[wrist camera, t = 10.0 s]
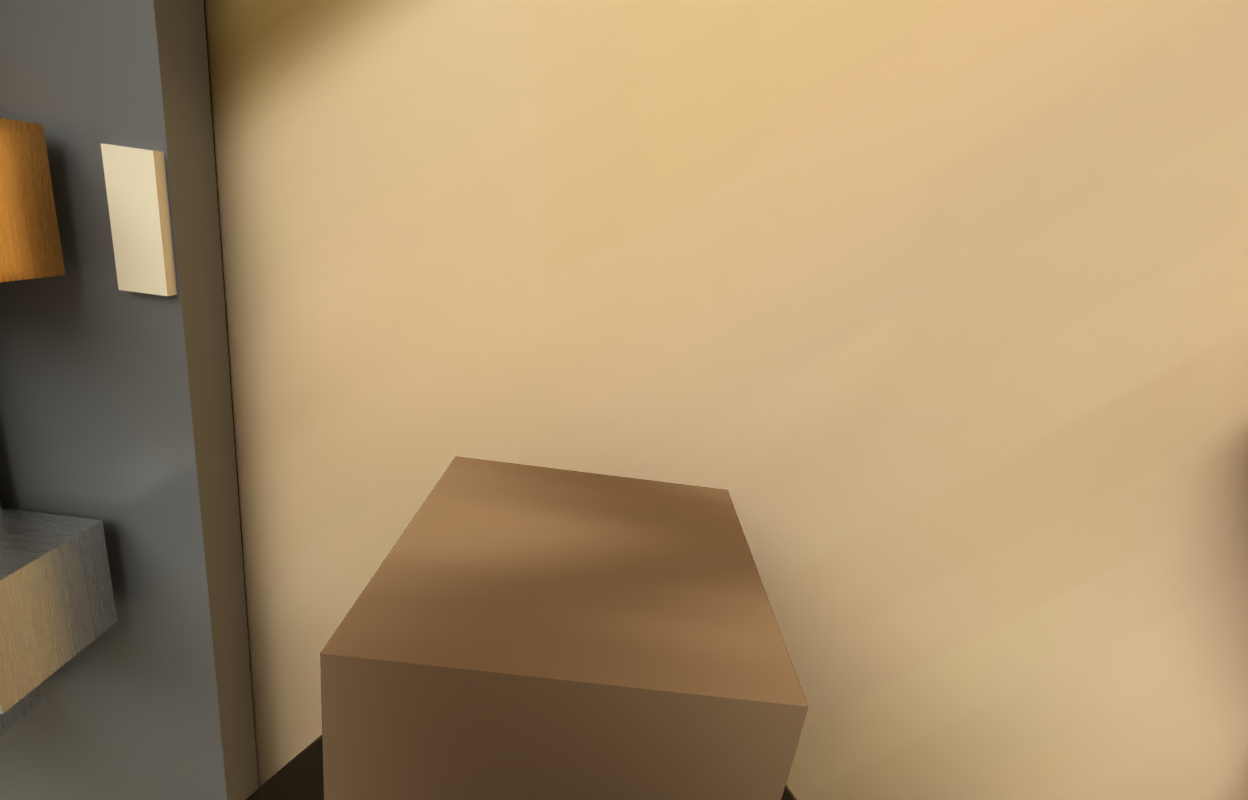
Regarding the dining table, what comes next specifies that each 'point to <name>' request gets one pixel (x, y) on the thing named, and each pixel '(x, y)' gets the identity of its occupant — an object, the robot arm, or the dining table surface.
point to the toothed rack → (29, 541)
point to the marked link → (561, 649)
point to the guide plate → (128, 406)
